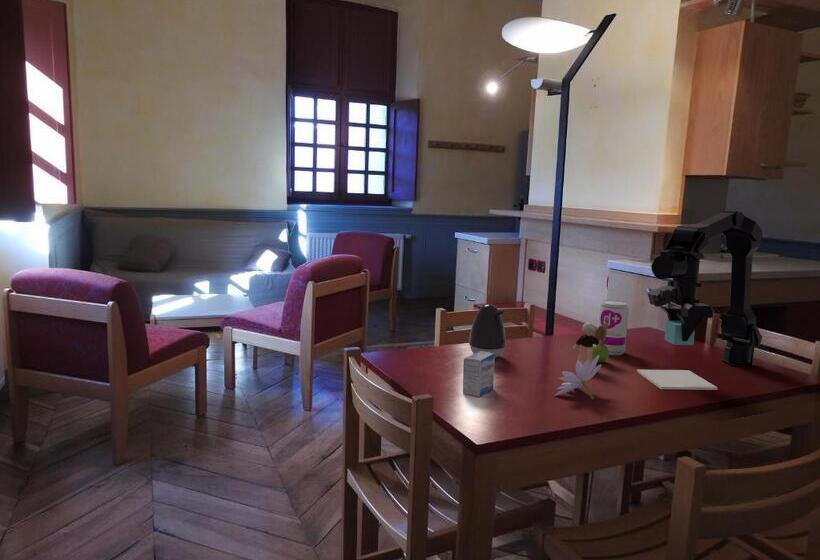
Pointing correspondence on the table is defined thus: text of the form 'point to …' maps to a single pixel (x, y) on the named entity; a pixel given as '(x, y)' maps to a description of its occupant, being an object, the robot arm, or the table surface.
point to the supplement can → (614, 325)
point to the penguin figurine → (488, 331)
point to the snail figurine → (600, 335)
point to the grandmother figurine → (586, 343)
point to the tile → (676, 379)
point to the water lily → (579, 376)
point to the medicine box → (478, 373)
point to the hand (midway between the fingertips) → (679, 338)
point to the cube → (676, 333)
